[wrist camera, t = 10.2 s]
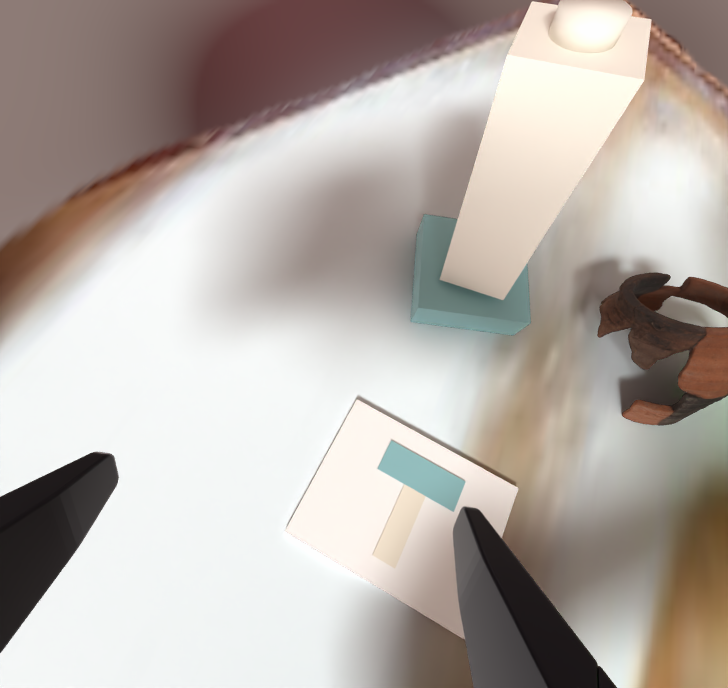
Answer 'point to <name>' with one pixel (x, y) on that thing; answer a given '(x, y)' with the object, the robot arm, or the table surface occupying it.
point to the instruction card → (397, 510)
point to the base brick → (460, 289)
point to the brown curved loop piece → (671, 341)
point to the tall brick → (544, 133)
